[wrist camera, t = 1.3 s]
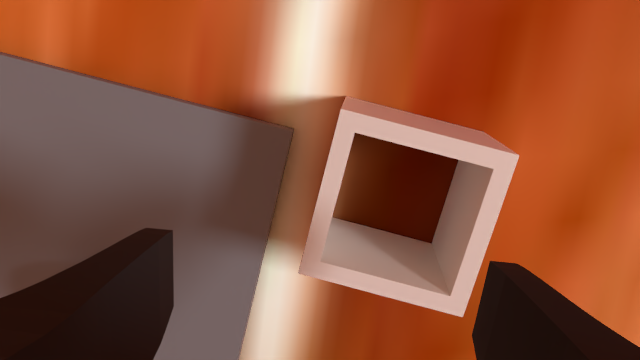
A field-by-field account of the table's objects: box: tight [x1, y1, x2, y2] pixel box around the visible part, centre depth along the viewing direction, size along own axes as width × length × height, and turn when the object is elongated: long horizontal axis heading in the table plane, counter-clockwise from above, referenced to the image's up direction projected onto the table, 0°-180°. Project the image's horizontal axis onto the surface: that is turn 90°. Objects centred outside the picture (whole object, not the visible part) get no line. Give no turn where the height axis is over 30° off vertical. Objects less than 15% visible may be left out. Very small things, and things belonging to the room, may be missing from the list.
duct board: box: [0, 52, 294, 360], centre depth 22 cm, size 13×18×4 cm
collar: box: [298, 96, 519, 317], centre depth 19 cm, size 6×6×5 cm
